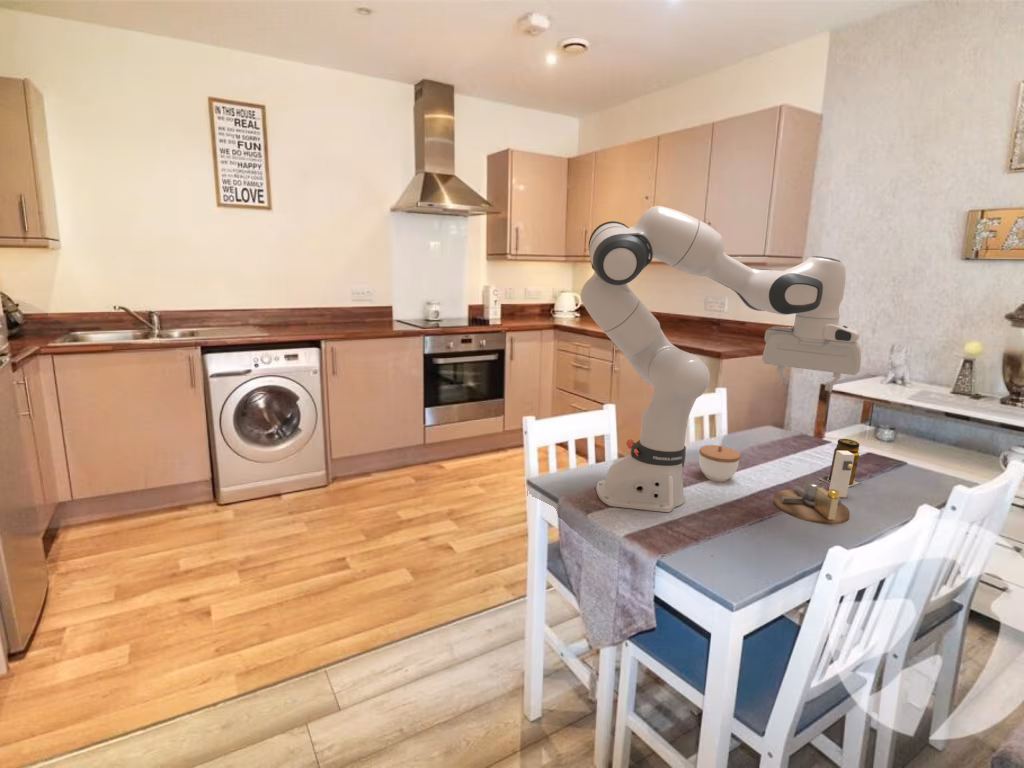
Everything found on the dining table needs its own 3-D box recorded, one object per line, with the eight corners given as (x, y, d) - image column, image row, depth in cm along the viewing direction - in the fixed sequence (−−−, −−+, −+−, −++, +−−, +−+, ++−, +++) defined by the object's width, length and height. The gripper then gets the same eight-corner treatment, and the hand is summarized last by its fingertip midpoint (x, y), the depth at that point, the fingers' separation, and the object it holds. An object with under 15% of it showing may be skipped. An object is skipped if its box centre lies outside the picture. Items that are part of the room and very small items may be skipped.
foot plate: (794, 523, 130) (795, 519, 130) (761, 492, 147) (761, 488, 146) (864, 524, 131) (865, 520, 130) (823, 493, 147) (824, 490, 147)
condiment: (859, 483, 155) (867, 443, 152) (844, 489, 151) (852, 448, 148) (833, 474, 161) (840, 435, 158) (818, 479, 156) (825, 440, 154)
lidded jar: (740, 476, 157) (744, 445, 155) (731, 488, 148) (736, 456, 146) (702, 466, 163) (706, 437, 160) (691, 478, 154) (695, 447, 152)
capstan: (800, 518, 130) (805, 492, 128) (768, 489, 145) (772, 465, 144) (861, 520, 130) (867, 493, 129) (822, 490, 146) (827, 467, 144)
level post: (837, 498, 144) (846, 456, 141) (828, 492, 148) (836, 450, 145) (848, 499, 144) (857, 456, 142) (839, 492, 148) (847, 450, 145)
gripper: (763, 326, 129) (755, 383, 132) (865, 335, 118) (854, 397, 121) (768, 323, 134) (760, 378, 137) (867, 332, 123) (855, 392, 126)
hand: (805, 387), depth 129 cm, fingers open, 8 cm apart
